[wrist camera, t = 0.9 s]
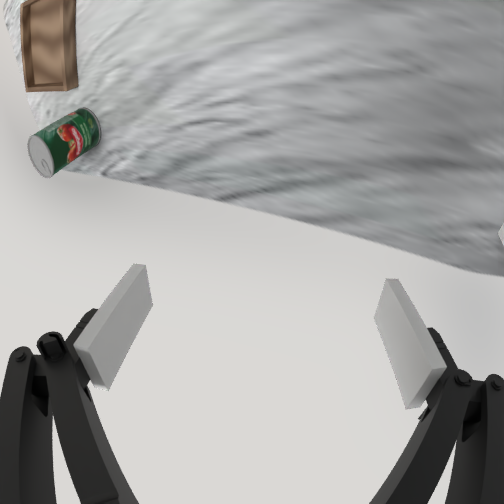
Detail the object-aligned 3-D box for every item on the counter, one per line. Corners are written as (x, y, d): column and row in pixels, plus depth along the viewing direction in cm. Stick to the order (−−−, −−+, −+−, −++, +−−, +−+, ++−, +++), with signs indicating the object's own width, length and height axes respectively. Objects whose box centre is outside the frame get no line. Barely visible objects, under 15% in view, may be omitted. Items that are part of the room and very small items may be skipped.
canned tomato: (69, 119, 42) (23, 146, 34) (87, 99, 38) (35, 127, 30) (87, 152, 46) (43, 184, 39) (107, 137, 42) (58, 170, 34)
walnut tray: (31, 1, 24) (20, 4, 23) (77, -20, 22) (64, -19, 20) (35, 87, 39) (26, 92, 37) (78, 86, 36) (67, 91, 34)
